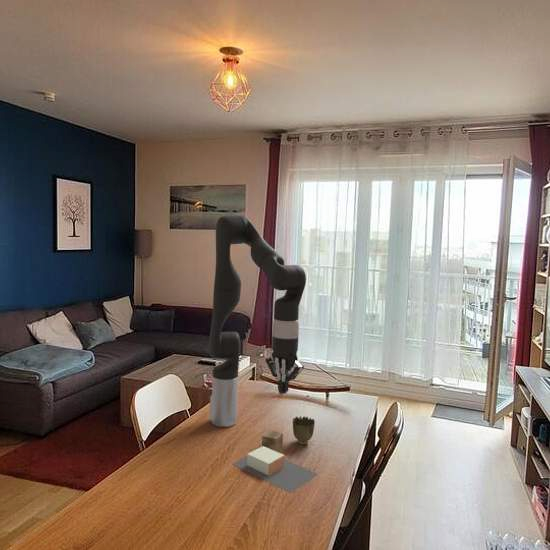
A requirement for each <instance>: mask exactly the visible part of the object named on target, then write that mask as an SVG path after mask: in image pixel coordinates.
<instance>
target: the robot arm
mask: <svg viewBox="0 0 550 550" xmlns="http://www.w3.org/2000/svg"><path fill="white" fill-rule="evenodd" d="M215 226H216V227H215V273H214V280H213V281H214V283H213V284H214V285H213V294H212V295H213V299H212V319H211V324H210V325H211V326H210V333H209V339H208V340H209V341H208V352H209V356H210V357H211V358H213V359H226V360H225V361H224V362H223V363H220V364H218V365H216V366H214V367H213V369H212V384H211V385H212V389H211V392H212V393H211V395H210V396H209V399H210V400H209V421H210V422H211V424H212V425H213V426H216V427H220V428H226V427H227V428H228V427H232V426H235V425H236V424H237V423H238V396H239V395H238V394H239V392H238V391H239V368H240V367H239V366H240V355H241V353H240V352H241V338H240V335H239V333H238V332H237V331H222V330H223V327H224V324H225V322H226V321H227V319H228V318H229V316H230V315H231V314H232V313H233V312H234V310H235V309H236V308H237V306H238V304H239V303H240V300H241V293H242V280H241V277H240V274H239V273H238V271H237V269H236V268H235V266H234V264H233V262H232V259H231V245H239V244H240V245H241V244H245V245H247V246H248V247H250V257H251V260H252V262H254V264H255V265H256V266H257V267H258V268H259V269H260V270H261V271H262V272H263V273H264V275H265V277H266V279H267V281H268V283H269V285H270V286H271V287H272V288H273V289H275V290H277V291H285V294H284V295H283V296H281V297H279V298H277V299H276V300H275V301H274V305H273V306H274V307H273V323H272V333H271V334H272V335H271V336H272V337H271V351H272V352H271V356H269V357H266V358H265V362H266V365H267V367H268V369H269V370H270V373H271V375H272V377H274V378H276V379H277V391H278V393H279V394H282V395H285V394H287V393H288V392H289V384H290V382H291V381H293V380H295V379H296V378H297V377H298V376H299V375H300V373H302V371H303V370H304V368H305V366H304V365H303V364H300V362H299V361H298V359H299V358H298V355H297V353H298V350H299V333H300V331H299V329H300V325H299V311H300V303H301V300H302V297H303V294H304V291H305V287H306V284H307V283H306V282H307V276H306V272H305V271H306V270H304V268H303V267H302V266H300V265H298V264H290V265H289V264H288V265H285V259H284V258H283V256H282V255H281V254H280V253H279V252H278V251H276V250H275V249H274V248H273V247H272V246H270V244H268V242H267V241H266V240H265V239H264V238H263V236H262V235H261V233H260V232H259V231H258V230H257V228H256V226H255V225H254V224H253V223H252V222H251V221H250V219H249V218H247V217H246V216H242V215H236V216H235V215H231V216H227V215H226V216H221V217H219V218H218V219H217V222H216V225H215Z"/></svg>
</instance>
